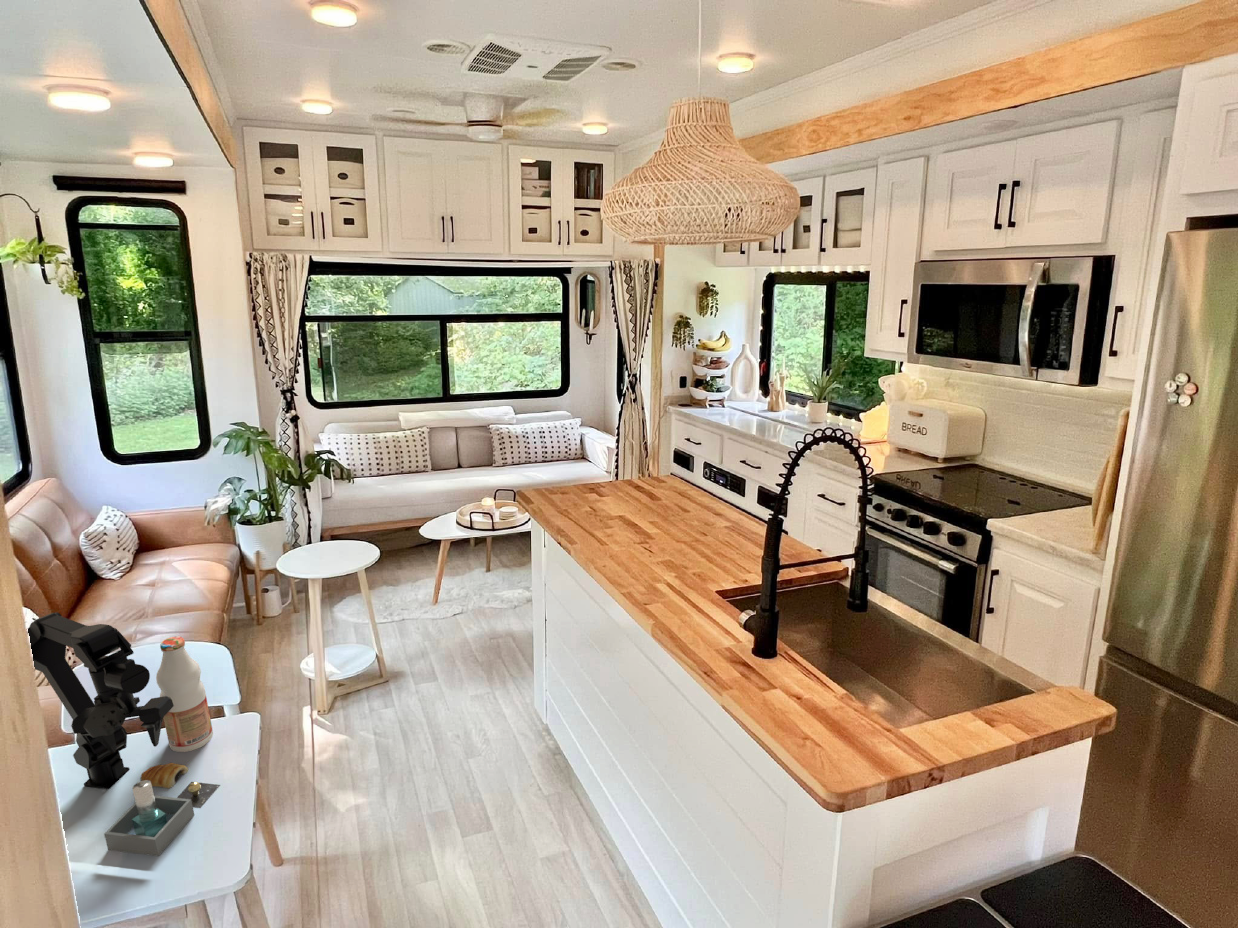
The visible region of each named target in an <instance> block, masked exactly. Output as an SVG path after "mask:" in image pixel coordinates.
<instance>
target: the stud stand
mask: <svg viewBox="0 0 1238 928" xmlns="http://www.w3.org/2000/svg"><path fill="white" fill-rule="evenodd" d="M220 786H221V784H215V783H208V782H207V783H206V782H198V781H191V782H190V783H189V784H188V785H187V786H186V787H185V788H184V789H183V790H182V791H181V793H179V795H177V797H176V798H182V799H191V801H192V806H193V808H197V809H201V808H202V807H203V806H204V805H205V804H206V802H207V801H208V800H209V799H210V798H211V797H212V796H213V794H214V793H215V792H216V791H217V790H218V789H219V787H220Z"/></svg>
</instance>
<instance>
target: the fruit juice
mask: <svg viewBox="0 0 1238 928" xmlns="http://www.w3.org/2000/svg"><path fill="white" fill-rule="evenodd" d="M185 646H186V641H185V639H184V637H182V636H179V635H178V636H170V637H168V638H165V639H163V640H162V641H161V642H160V646H159V647H160V648H159V649H160V650H161V653H162V657H161V661H160V662H161V663H160V665H159V669H158V670H157V672H156V675H155V677H156V684H157V687H158V688H159V690H160V693H159V697H164V696H168V697H170V698H171V699H172V702H173V705H174V706H173V707H172V708H171V710H170V711H169V712H168V713H167V714H166V715H165V716H164V718H163V722H164V726H165V731H166V735H167V741H168V745H169V748H170V749H171V750H172V751H173V752H177V753H187V752H191V751H194V750H197V749H199V748H201V747H203V746H205V745H206V744H208V743H209V742H210V741H211V739H212V738H213V735H214V732H213V726H212V719H211V715H210V710H209V705H208V699H207V693H206V689H205V685H204V683H203V682H202V680H201V673H202V671H201V670H202V669H201V666H200V665H199V663H198V662H197V661H196V660H195V659H194V658H192V657H191V656H190V654H189V653H188V652H187V650H186V648H185Z"/></svg>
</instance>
